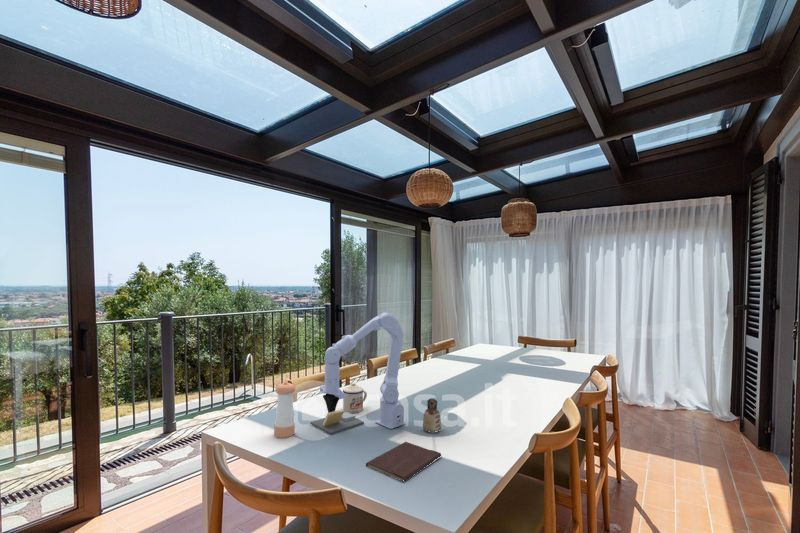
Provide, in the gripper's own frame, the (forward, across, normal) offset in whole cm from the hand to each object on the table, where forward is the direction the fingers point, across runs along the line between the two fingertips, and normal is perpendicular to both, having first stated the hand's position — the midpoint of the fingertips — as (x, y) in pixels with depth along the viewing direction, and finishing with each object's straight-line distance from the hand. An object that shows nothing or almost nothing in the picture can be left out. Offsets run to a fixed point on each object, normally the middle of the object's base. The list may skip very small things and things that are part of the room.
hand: (331, 413), depth 148 cm
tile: (+4, 0, 0) cm, 4 cm away
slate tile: (+4, -1, +8) cm, 9 cm away
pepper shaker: (+5, -5, -17) cm, 19 cm away
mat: (+5, 0, +3) cm, 6 cm away
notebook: (+6, +40, +1) cm, 40 cm away
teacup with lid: (+5, -9, +19) cm, 22 cm away
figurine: (+5, +29, +27) cm, 40 cm away
